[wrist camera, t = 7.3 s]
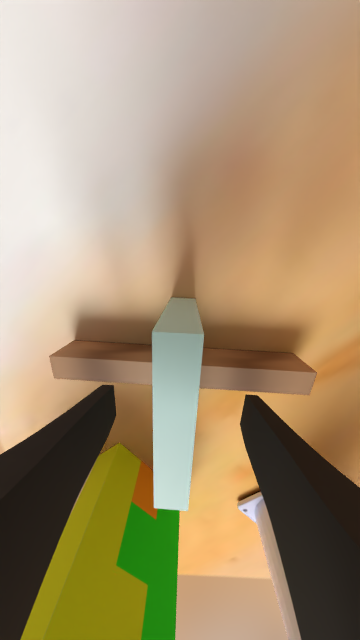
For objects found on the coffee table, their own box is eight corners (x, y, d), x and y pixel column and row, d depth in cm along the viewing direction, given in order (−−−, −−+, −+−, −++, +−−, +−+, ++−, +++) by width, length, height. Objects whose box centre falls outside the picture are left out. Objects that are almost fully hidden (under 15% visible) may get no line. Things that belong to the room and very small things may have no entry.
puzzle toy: (61, 478, 20) (-59, 677, 10) (119, 442, 17) (36, 654, 8) (121, 520, 22) (68, 719, 12) (180, 492, 19) (172, 710, 10)
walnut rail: (292, 353, 13) (317, 372, 11) (287, 372, 14) (309, 395, 11) (74, 340, 14) (49, 356, 11) (77, 359, 14) (54, 378, 12)
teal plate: (171, 297, 12) (151, 331, 6) (195, 298, 12) (203, 334, 6) (168, 404, 15) (153, 507, 9) (187, 405, 15) (187, 511, 9)
